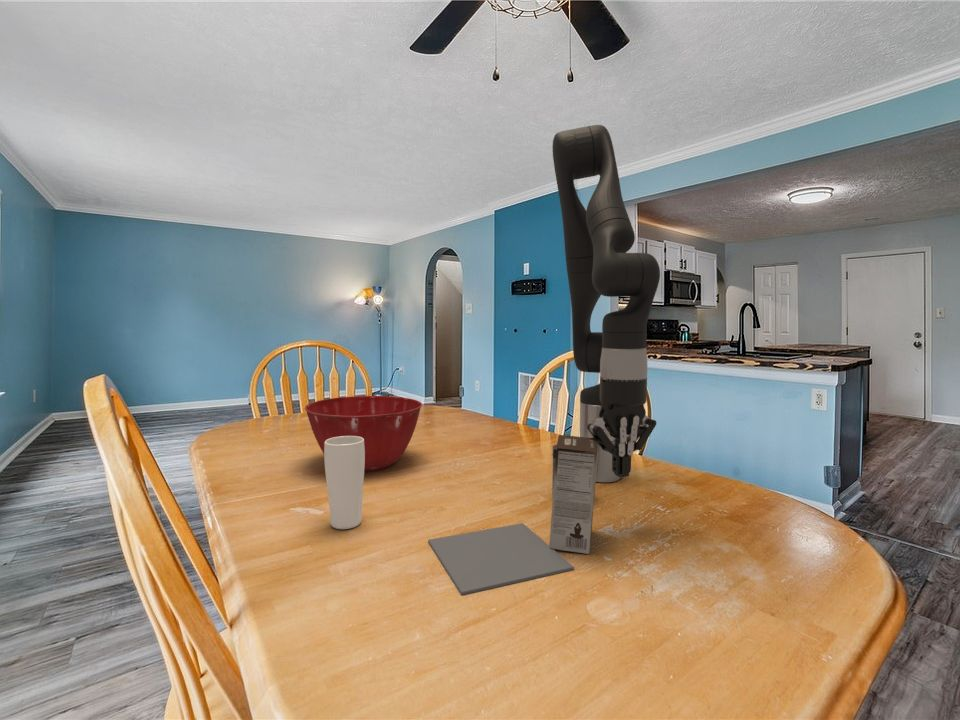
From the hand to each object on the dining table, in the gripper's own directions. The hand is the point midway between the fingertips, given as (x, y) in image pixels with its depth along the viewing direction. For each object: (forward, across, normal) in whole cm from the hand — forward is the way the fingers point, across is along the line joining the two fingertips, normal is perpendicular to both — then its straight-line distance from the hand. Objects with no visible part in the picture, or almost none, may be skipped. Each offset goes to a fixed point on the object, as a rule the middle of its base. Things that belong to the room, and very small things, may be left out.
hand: (621, 475), depth 79 cm
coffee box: (+9, +11, +1) cm, 14 cm away
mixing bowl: (+10, +36, -54) cm, 66 cm away
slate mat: (+9, +24, +1) cm, 25 cm away
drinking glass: (+9, +44, -18) cm, 48 cm away
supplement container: (+10, +1, -15) cm, 18 cm away
